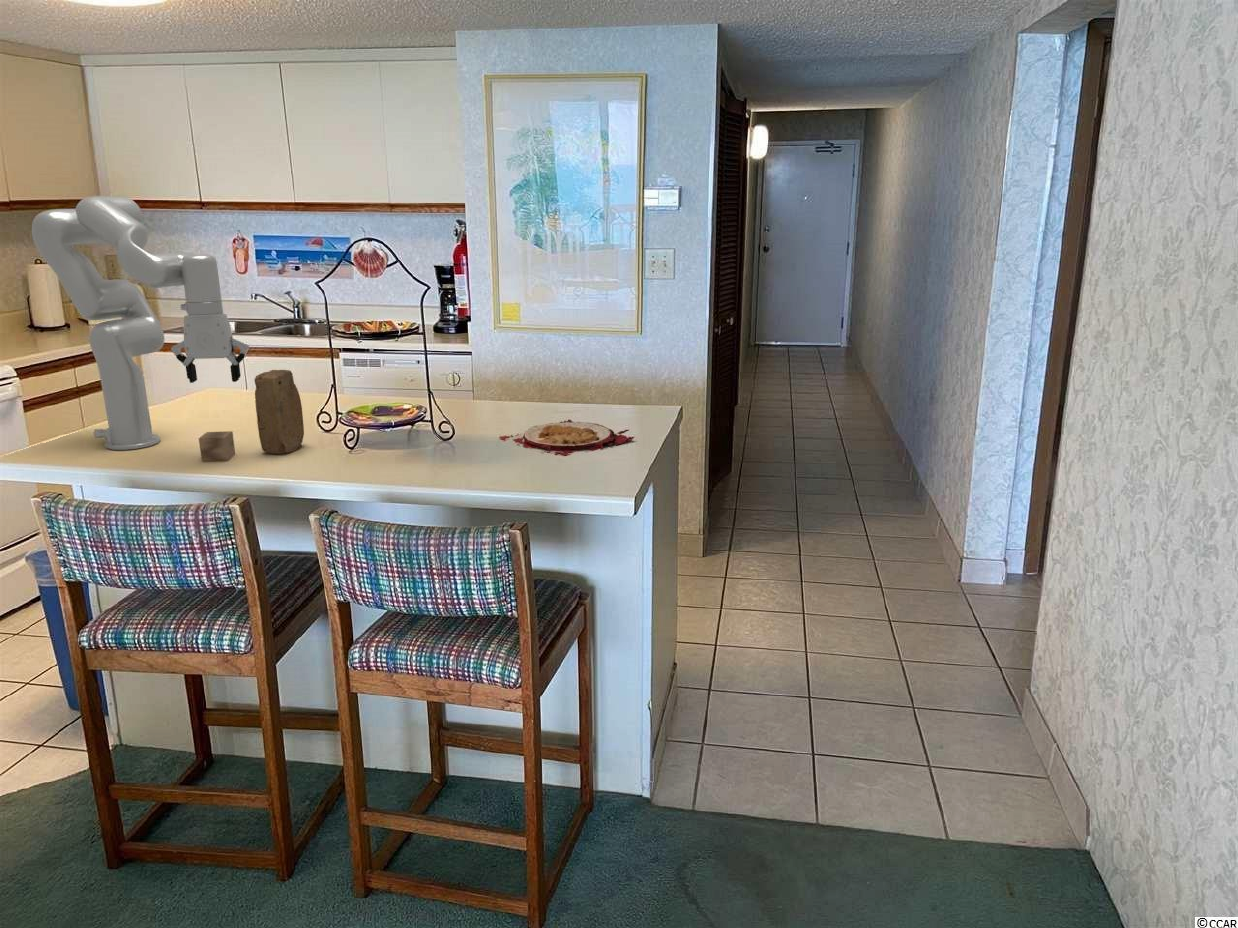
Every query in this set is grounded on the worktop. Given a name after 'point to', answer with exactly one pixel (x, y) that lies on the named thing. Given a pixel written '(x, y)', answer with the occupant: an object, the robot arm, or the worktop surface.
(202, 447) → the cube
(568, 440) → the plate with food
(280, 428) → the block
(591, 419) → the worktop surface
